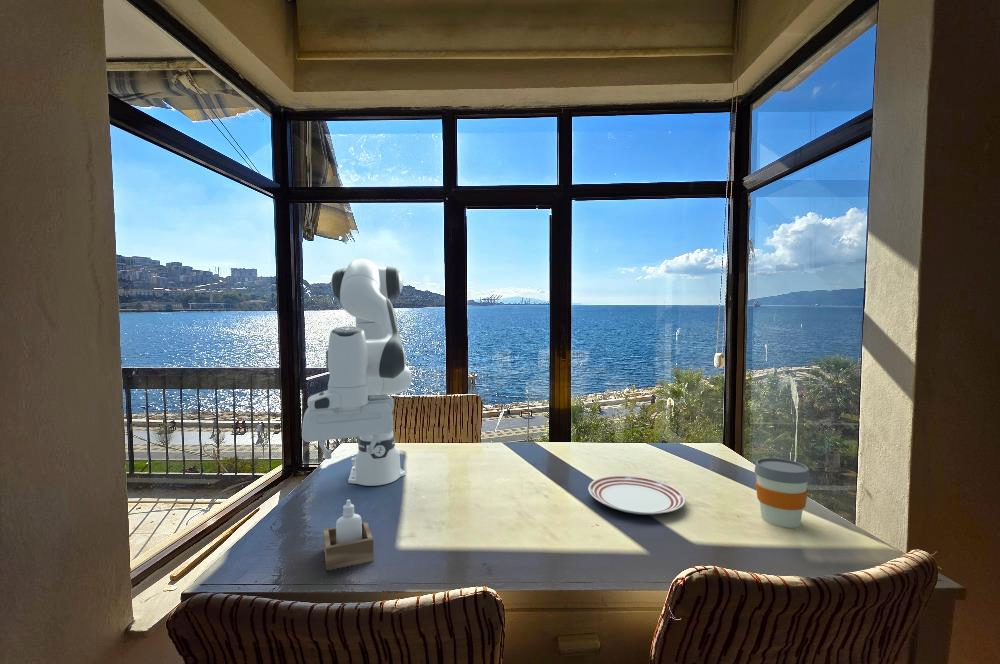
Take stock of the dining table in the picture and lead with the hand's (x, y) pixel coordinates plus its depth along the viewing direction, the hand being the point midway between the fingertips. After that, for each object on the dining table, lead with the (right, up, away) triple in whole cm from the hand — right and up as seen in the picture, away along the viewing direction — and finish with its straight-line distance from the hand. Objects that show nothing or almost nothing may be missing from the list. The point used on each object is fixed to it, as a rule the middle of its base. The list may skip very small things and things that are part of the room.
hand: (349, 455), depth 108 cm
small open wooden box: (0, -23, 0) cm, 23 cm away
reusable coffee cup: (+111, -22, +16) cm, 114 cm away
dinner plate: (+75, -22, +29) cm, 84 cm away
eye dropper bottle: (0, -22, -1) cm, 22 cm away
